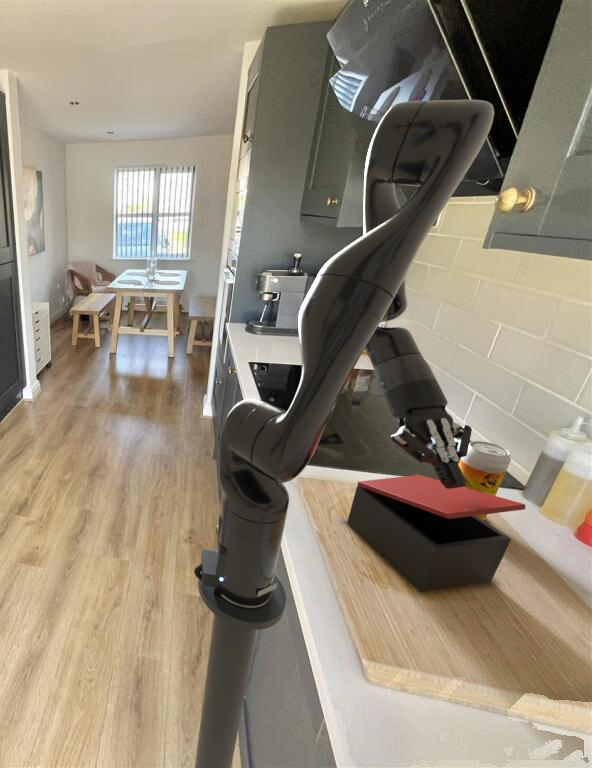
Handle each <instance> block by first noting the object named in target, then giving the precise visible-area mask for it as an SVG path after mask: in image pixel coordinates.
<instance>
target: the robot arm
mask: <svg viewBox="0 0 592 768" xmlns="http://www.w3.org/2000/svg"><path fill="white" fill-rule="evenodd" d="M494 117H495V109H494V106H493V103H491V102H489V101H487V100H482V99H440V100H439V99H437V100H436V99H435V100H433V99H432V100H431V99H430V100H428V99H427V100H410V101H401V102H398V103H395V104H394V105H392V107H390V108H389V109H388V110H387V111H386V113H385V114H384V116H383V117H382V118H381V120H380V121H379V123H378V125H377V127H376V129H375V131H374V133H373V134H372V138H371V141H370V144H369V147H368V150H367V155H366V159H365V167H364V176H363V177H364V180H363V233H362V234H363V235H362V236H360V237H359V238H357V239H356V240H355V241H353V242H351V243H350V244H349V245H347V246H345V247H344V248H343V249H342V250H340V251H339V252H337V253H336V254H335V255H333V256H332V257H330V258H329V260H327V262H325V263H324V265H323V266H322V267H321V269H320V270H319V272H318V273H317V275H316V277H315V279H314V281H313V283H312V285H311V287H310V288H309V291H308V292H307V294H306V296H305V298H304V300H303V302H302V304H301V306H300V309H299V312H298V320H297V329H298V330H297V331H298V341H299V342H298V343H299V348H300V349H299V350H300V359H301V372H300V379H299V382H298V383H299V384H298V386H297V389H296V392H295V394H294V397H293V399H292V401H291V403H290V405H289V407H288V409H287V410H285V409H283V408H280V407H278V406H276V405H273V404H271V403H269V402H266V401H264V400H261V399H258V398H245V399H243V400H241V401H239V402H238V403H236V404H235V405H234V406H233V407H232V408H231V409H230V410H229V412H228V413H227V416H226V417H225V420H224V423H223V426H222V430H221V434H220V443H219V466H218V482H219V486H220V488H221V500H220V506H219V507H220V509H219V517H218V525H215V530H214V537H213V547H212V549H206V548H205V549H204V548H202V549H201V555H200V564H198V565H197V566H195V568H194V570H193V573H194V576H195V577H196V578H197V580H198V579H199V580H201V581H202V585H203V586H210V587H213V594H214V596H218V597H221V598H222V599H224V600H225V601H226V602H228V603H229V604H231V605H233V606H235V607H238V608H242V609H247V610H255V609H260V608H262V607H264V606H266V605H267V604H268V603H269V601H270V599H271V595H272V590H274V589H276V588H277V583H276V584H274V585H273V581H274V576H275V575H276V571H277V566H278V562H279V561H278V560H279V555H280V550H281V546H282V540H283V535H284V529H285V525H286V519H287V516H288V509H289V505H290V496H289V495H290V494H289V492H288V490H287V487H286V486H285V485H284V484H286V483H288V482H292V481H293V480H294V479H295V478H297V477H298V476H299V475H300V474H301V473H302V472H303V471H304V470H305V468H306V467H307V465H308V464H309V463H310V461H311V459H312V458H313V456H314V454H315V452H316V450H317V448H318V446H319V444H320V442H321V439H322V437H323V435H324V433H325V430H326V428H327V426H328V424H329V421H330V419H331V417H332V414H333V412H334V410H335V408H336V405H337V403H338V401H339V398H340V396H341V393H342V392H343V390H344V388H345V386H346V383H347V382H348V379H350V377H351V374H352V372H353V371H354V368H355V367H356V365H357V363H358V361H359V359H360V358H361V356H362V354H363V352H364V351H365V353H366V355H367V356H368V359H369V360H370V363H371V365H372V368H373V369H374V373H375V377H376V380H377V383H378V386H379V388H380V390H381V392H382V394H383V397H384V399H385V401H386V404H387V406H388V408H389V410H390V413H391V415H392V416H393V417H394V418H397V419H398V420H397V421H398V423H397V425H398V427H399V429H398V431H397V432H396V433H394V434H391V435H390V440H391V441H392V442H393V443H394V444H396V445H397V446H398V447H400V448H401V449H402V450H403V451H405V452H406V453H407V454H408V455H410V456H411V457H412V458H413V459H415V460H416V461H417V462H418V463H422V464H423V463H427V464H429V465H430V466H432V467H433V469H434V471H435V473H436V475H437V477H438V480H440V482H441V483H442V484H443V485H444V487H445V488H447V489H451V488H459V487H465V486H466V483H465V482H466V481H465V477H464V475H463V473H462V471H461V469H460V467H459V462H458V461H460V459H461V457H465V456H467V452H468V447H469V444H470V442H471V436H472V432H473V431H472V430H473V428H472V427H471V425H469V424H465V425H460V424H459V423H456V422H455V421H454V419H453V417H452V415H450V414H449V413H448V411H447V410H446V407H447V406H448V403H449V401H448V400H447V397H446V396H445V394H444V391H443V390H442V388H441V386H440V384H439V381H438V380H437V378H436V376H435V374H434V371H433V369H432V368H431V366H430V364H429V363H428V361H427V360H426V359H425V358H424V356H423V354H422V352H421V350H420V349H419V346H418V344H417V342H416V340H415V338H414V337H413V334H412V333H411V331H410V330H409V329H407V328H405V327H401V326H400V327H383V326H380V324H382V323H387V322H391V321H393V320H396V319H398V318H399V317H401V316H402V315H403V314H404V313H405V312H406V311H407V308H408V297H407V290H406V289H407V288H406V287H407V286H406V278H407V274H408V272H409V270H410V267H411V265H412V263H413V262H414V261H415V260H414V259H415V258H416V255H417V254H418V252H419V250H420V248H421V247H422V245H423V243H424V241H425V239H426V237H427V236H428V234H429V233H430V231H431V229H432V228H433V226H434V224H435V223H436V221H437V219H438V218H439V217H440V215H441V213H442V211H443V210H444V208H445V207H446V206H447V204H448V202H449V201H450V199H451V198H452V196H453V194H454V193H455V192H456V190H457V188H458V187H459V185H460V183H461V182H462V180H464V177H465V176H466V174H467V172H468V171H469V169H470V168H471V166H472V165H473V163H474V161H475V159H476V158H477V156H478V155H479V153H480V151H481V149H482V147H483V145H484V144H485V142H486V140H487V138H488V135H489V133H490V131H491V128H492V126H493V122H494ZM396 185H400V186H410V187H418V188H417V189H416V190H415V192H414V193H413V194H412V195H411V196H410V197H409V199H407V201H406V202H405V203H404V204H403V205H402V206H401V205H400V202H399V200H398V196H397V191H396ZM201 571H202V574H201V573H200V572H201Z"/></svg>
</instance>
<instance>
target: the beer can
mask: <svg viewBox="0 0 592 768" xmlns="http://www.w3.org/2000/svg"><path fill="white" fill-rule="evenodd" d="M511 461H512V457H511V452H510V451H509V450H508V449H506V447H503V446H500V445H498V444H495V443H492V442H488V441H483V440H482V441H481V440H474V441H470V442H469V447H468V452H467V456H465V457H461V458H460V459H459V462H458V465H459V467H460V469H461V471H462V473H463V475H464V477H465V481H466V482H465V483H466V486H465V488H468V489H472V490H476V491H479V492H483V493H486V494H490V495H494V496H497V493H498V491H499V488H500V486H501V484H502V482H503V480H504V477H505V475H506V473H507V470H508V468H509V466H510V463H511ZM477 517H478V518H480V519H481V520H483V521H484V522H485V520H486V518H487V517H488V514H485V515H477Z"/></svg>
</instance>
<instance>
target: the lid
mask: <svg viewBox="0 0 592 768" xmlns="http://www.w3.org/2000/svg"><path fill="white" fill-rule="evenodd" d="M357 486H360V487H363V488H365V489H368V490H371V491H374V492H376V493H379V494H382V495H384V496H387V497H390V498H393V499H395V500H398V501H401V502H404V503H406V504H409V505H412V506H414V507H417V508H420V509H423V510H425V511H428V512H431V513H433V514H436V515H439V516H442V517H444V518H447V519H453V518H461V517H469V516H477V515H485V514H487V515H493V514H499V513H508V512H515V511H523V510H526V503H522V502H518V501H515V500H512V499H507V498H504V497H502V496H501V497H500V496H497V495H496V496H494V495H490V494H486V493H483V492H479V491H476V490H472V489H468V488H465V487H459V488H451V489H447V488H445V487H444V485H443V484H442V483H441V482H440V479H436V478H432V477H429V476H425V475H421V474H414V475H405V476H396V477H387V478H378V479H368V480H359V481H357Z"/></svg>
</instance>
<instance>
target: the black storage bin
mask: <svg viewBox="0 0 592 768" xmlns="http://www.w3.org/2000/svg"><path fill="white" fill-rule="evenodd" d="M346 524H347V526H349V527H350V528H351V529H352V530H353V531H354V532H355V533H356V534H358V535H359V536H360V537H361V538H362V539H363V540H364V541H365V542H366V543H367V544H369V546H371V547H372V548H373V549H374V550H375V551H376V553H378V554H379V555H380V556H382V558H384V560H385V561H387V562H388V563H389V564H390V565H391V566H392V567H393V568H394V569H395V570H396V571H397V572H399V573H400V574H401V575H402V576H403V577H404V578H405V579H406V580H407V581H408V582H409V583H410V584H411V585H412V586H414V587H415V588H416V589H417V590H418V591H419V592H420V593H421V592H427V591H434V590H435V591H436V590H440V589H447V588H448V589H449V588H456V587H462V586H470V585H476V584H483V583H491V582H492V581H493V579H494V577H495V574H496V572H497V570H498V568H499V566H500V564H501V563H502V560H503V558H504V556H505V554H506V551H507V549H508V547H509V545H510V543H511V541H512V538H511V537H509V536H508V535H507V534H505V533H503V532H501V531H500V530H499V529H497V528H495V527H494V526H492V525H491V524H489V523H488V522H487V521H485V520H484V521H483V520H481V519H480V518H478V517H477V516H469V517H461V518H453V519H447V518H444V517H442V516H439V515H436V514H433V513H431V512H428V511H425V510H423V509H420V508H417V507H414V506H412V505H409V504H406V503H404V502H401V501H398V500H395V499H393V498H390V497H387V496H384V495H382V494H379V493H376V492H374V491H371V490H368V489H365V488H363V487H360V486H358V485H356V488H355V492H354V496H353V499H352V503H351V507H350V511H349V513H348V518H347V522H346Z"/></svg>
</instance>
